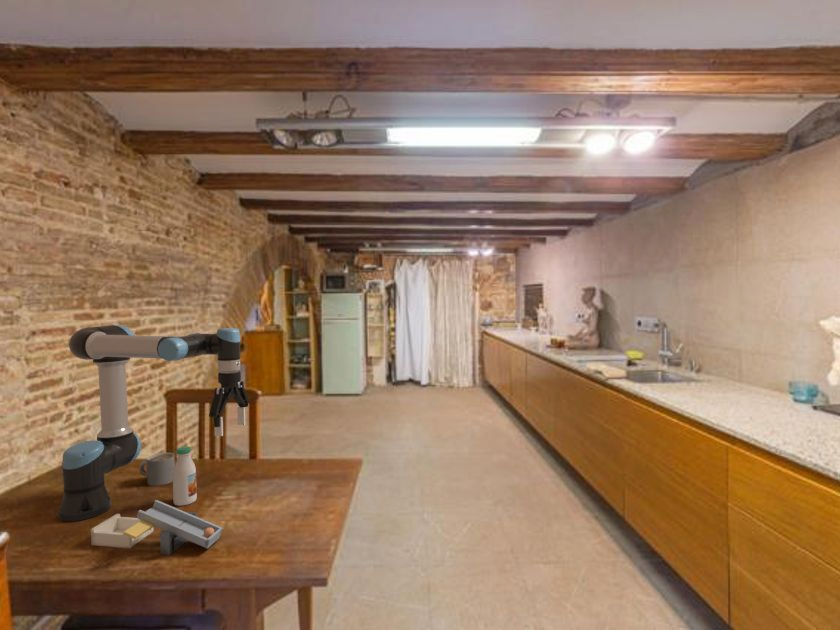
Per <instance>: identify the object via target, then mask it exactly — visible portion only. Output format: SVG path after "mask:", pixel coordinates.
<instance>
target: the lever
mask: <svg viewBox="0 0 840 630" xmlns="http://www.w3.org/2000/svg"><path fill="white" fill-rule="evenodd" d="M187 512H188V511H184V510H181V509H179V508H177V507H174V506H172V505H170V504H168V503H165V502H163V501H160V500H158V499H156V500H154V502H153V505H152V507H150V508H149V509H147V510H145V511H144V510H141V509H139V510H138V511H137V515H136V518H138V519H140V520H141V521H140V522H138V523H137V524H135V525H134V526H132V527H130V528H129V529H127V530H126V531H124V533H123V534H124V535H126V536H128V537H131V538H133V539H137V538H138V537H140V536H141V535H143V534H144V533H145V532H147V531H148V530H150V529H151V528H153V527H156V528H158V529H161V530H162V531H172V535H173V534H174V535H177V536H179V537H181V538H184V539H186V540H188V541H189V542H191V543H193V544H196V545H198V546H200V547H202V548H204V549H206V550H207V549H210V547H211V546H213V544H214V543H216V542H217V541H218V540H219V539H220V537H221V535H222V533H223V530H224V527H222V526H220V525H217V524H215V523H213V522H210V521H207V520H206V519H204V518H200V517H198V516H197V517H196V516H194V515H191V514H189V513H187ZM207 528H213V529H214V534H212V535H211V536H210V537H209V538H205V537H204V531H205V529H207ZM188 541H187V542H188Z"/></svg>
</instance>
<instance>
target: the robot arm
mask: <svg viewBox="0 0 840 630" xmlns="http://www.w3.org/2000/svg"><path fill="white" fill-rule="evenodd" d="M68 347H69V350H70V352H71V354H72V355H73V356H74V357H76V358H78V359H80V360H86V361H87V360H88V361H89V360H92V363H93V364H94V365H96V366H97V368H98V369H97V370H98V387H99V389H98V390H99V391H98V392H99V406H100V407H99V409H100V410H99V411H100V423H101V424H100V427H101V428H100V429H101V430H100V431H99V432H98V433H97V434H96V440H87V441H85V442H80V443H77V444H74V445H72V446H70V447H68V448H67V449H66V450H65V451H64V452H63V454H62V462H61V466H62V481H63V482H62V484H63V486H62V488H63V495H62V499H61V502H60V506H59V508H58V510H57V519H58V520H59V521H62V522H78V521H84V520H88V519H91V518H94V517H96V516H99V515H102V514H104V513H106V512H107V511H108V510H110V508H111V507H112V498H111V496H110V495H109V492H108V490H107V487H106V486H105V484H106V483H105V475H107V474H109V473H110V472H112V471H115V470H117V469H120V468H122V467H125V466H127V465H129V464H131V462H134V461H135V460H136V459H137V458H138V457H139V455H140V454H141V453H140V452H141V449H142V442H141V439H140V438H139V435H138V434H137V433H135V432H134V429H133V428H132V427H130V426H129V411H128V410H129V409H128V406H129V405H128V390H127V388H128V387H127V369H126V368H127V365H126V364H127V363H128V362H130V360H131V359H132V358H134V359H135V358H136V359H137V358H139V359H163V360H164V361H167V362H171V361H172V362H175V361H180V360H184V359H188V358H194V357H198V356H199V357H200V356H203V355H206V356H208V355H209V356H210V355H217V356H216V357H217V371H218V373H217V382H218V383H219V384H220V387H215V388H214V395H213V399H212V403H211V406H210V411H209V413H208V417H209V418H213V427H214V436H215V437H223V436H224V422H223V416H222V415H223V412H224V410H225V407H226V405H227V402H228V401H229V400H230V399H231V398H233V399H234V401H235V402H236V404H237V405H238V407H237V426H245V425H246V408H248V407H249V404H250V400H249V397H248V394H247V392H246V389H245V385H244V381H243V380H242V378H241V377H242V373H241V371H240V370H241V364H242V363H241V336H240V330H239V329H238V328H237V327H236V328H235V327H229V328H228V327H224V328H218V329H217V330H216V333H202V332H198V333H197V332H196V333H190V334H188V335H183V336H166V335H165V336H163V335H162V336H161V335H160V336H159V335H157V336H156V335H136V334H135V333H134V332H133V331H132V330H131V329H130V328H129V327H127V326H125V325H120V324H110V325H109V324H108V325H101V326H89V327H84V328H83V327H82V328H80V329H78V330H77V331H75V332H74V333H73V334H72V335H71V337H70V339H69V342H68Z"/></svg>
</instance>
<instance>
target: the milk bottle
mask: <svg viewBox="0 0 840 630" xmlns="http://www.w3.org/2000/svg"><path fill="white" fill-rule="evenodd" d="M191 453H192V448H191V446H181V447H180V446H179V447H178V448H176V456H177V459H176V462H175V466H174V469H173V481H172V496H173V497H172V499H173V501H172V502H173V505H175V506H180V507H181V506H187V505H190V504H193V503H195V502H196V501H197V498H198V497H197V496H198V493H197V492H198V491H197V488H198V487H197V485H198V484H197V468H196V465H195V462H194V461H193V459H192V457H191Z"/></svg>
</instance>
